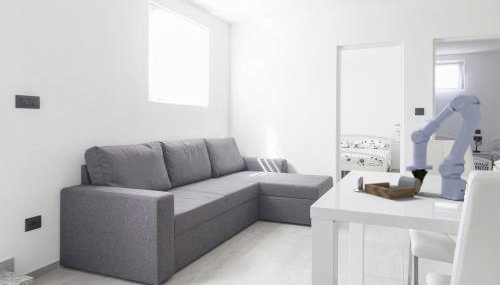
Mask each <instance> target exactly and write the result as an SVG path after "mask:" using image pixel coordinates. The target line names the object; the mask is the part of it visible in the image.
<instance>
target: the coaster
mask: <svg viewBox="0 0 500 285" xmlns="http://www.w3.org/2000/svg"><path fill="white" fill-rule="evenodd" d="M390 189H398V184H394V185H393V184H390Z"/></svg>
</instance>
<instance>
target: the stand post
mask: <svg viewBox="0 0 500 285" xmlns="http://www.w3.org/2000/svg"><path fill="white" fill-rule="evenodd" d="M353 192H354V193H355V192H356V193H364V177H363V176H358V177H357V188H354V189H353Z"/></svg>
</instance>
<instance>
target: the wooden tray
mask: <svg viewBox="0 0 500 285" xmlns="http://www.w3.org/2000/svg"><path fill="white" fill-rule="evenodd" d="M390 185H391V183H390V182H387V181H385V182H374V183H373V182H372V183H364V185H363V189H364V192H363V193H365V194H368V195H371V196H375V197H379V198H382V199H387V200H398V199H399V200H400V199H406V198H407V199H408V197H409V198H414V197H415V194H414V188H413V187H409V188H398V189H390Z"/></svg>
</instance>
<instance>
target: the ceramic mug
mask: <svg viewBox="0 0 500 285" xmlns="http://www.w3.org/2000/svg"><path fill="white" fill-rule="evenodd" d="M397 185H398V188H409V187H413V188H414V195H416V194H417V195H418V194H419V193H420V191H421V188H422V186H421V181H420V180H419V179H417V178H414V177H412V176H411V177H410V176H407V175H401V176H400V177H399V179H398V181H397Z"/></svg>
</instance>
